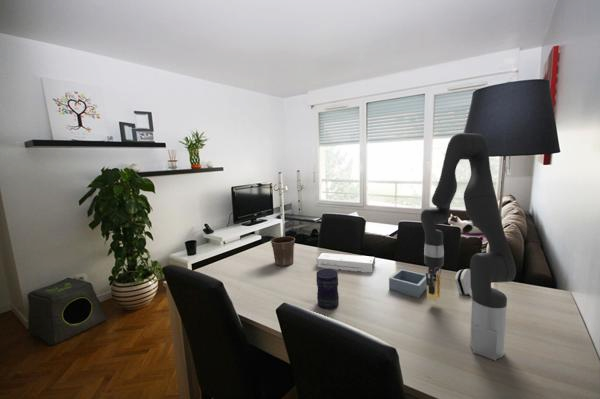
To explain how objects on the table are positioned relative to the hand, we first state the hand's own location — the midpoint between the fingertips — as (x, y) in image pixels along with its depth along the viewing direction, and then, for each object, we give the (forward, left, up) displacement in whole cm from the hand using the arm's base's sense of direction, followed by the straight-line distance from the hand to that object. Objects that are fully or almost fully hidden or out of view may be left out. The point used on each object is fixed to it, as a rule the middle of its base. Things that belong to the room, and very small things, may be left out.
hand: (433, 291), depth 116 cm
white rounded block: (+25, -8, -7) cm, 27 cm away
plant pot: (-4, +91, -7) cm, 91 cm away
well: (+9, +14, -6) cm, 18 cm away
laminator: (+15, +55, -7) cm, 58 cm away
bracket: (0, 0, -3) cm, 3 cm away
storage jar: (-27, +37, -7) cm, 47 cm away
